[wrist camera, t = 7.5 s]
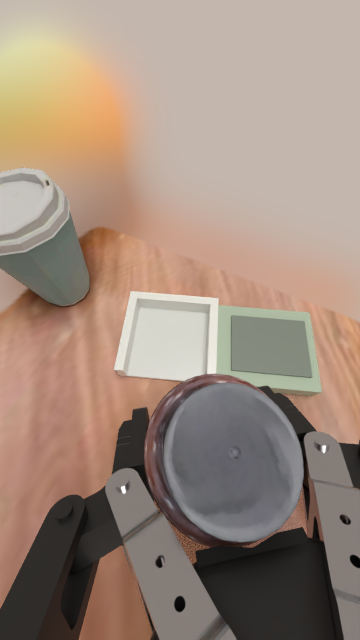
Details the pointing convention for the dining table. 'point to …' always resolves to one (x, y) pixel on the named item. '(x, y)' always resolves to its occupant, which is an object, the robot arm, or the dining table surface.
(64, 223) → the disposable coffee cup
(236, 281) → the dining table surface
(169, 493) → the supplement bottle
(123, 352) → the chute bracket
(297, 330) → the green rectangular block
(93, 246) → the dining table surface
